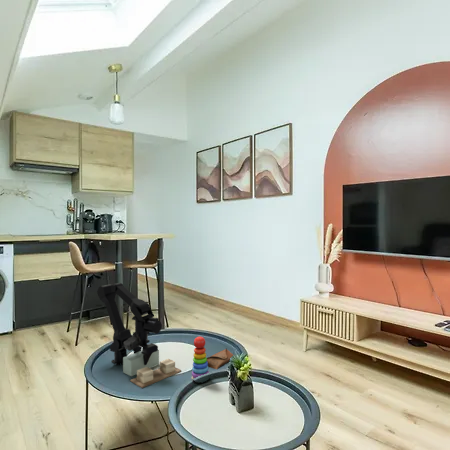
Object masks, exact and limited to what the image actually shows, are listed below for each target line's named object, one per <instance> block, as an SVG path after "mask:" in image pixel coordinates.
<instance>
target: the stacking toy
mask: <svg viewBox="0 0 450 450" xmlns="http://www.w3.org/2000/svg"><path fill="white" fill-rule="evenodd" d="M193 345H194V347H195V348H194V349H193V351H194V353H193V359H192V360H193V362H192V371H191V380H192V379H194V378H196V377H198V376H201V375H204V374H207V373H209V374H210V371H209V367H208V366H207V365H208V362H207V358H208V357H207V353H206V350H207V349H206V348H205V346H206V339H205V338H204V337H203V336H197V337H195V338H194V340H193Z"/></svg>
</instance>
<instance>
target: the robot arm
mask: <svg viewBox="0 0 450 450" xmlns="http://www.w3.org/2000/svg"><path fill="white" fill-rule="evenodd" d="M96 293H97V296H98V298H99V300H100V301H101V302H102V303H103V304H104V305H105V308H106V311H107V314H108V318H109V320H110V322H111V326H112V329H113V336H112V340H113V342H112V343H111V344H110V346H109V350H110V352H113V354H114V355H113V356H114V357H113V358H114V359H112V360H111V363H113V364H115V365H117V366H119V365H120V366H121V365H123V357H126V356H128V354H127V350H128V352H131V351H132V352H133V354H134V353H137V352H139V351H143V352H141V353H142V354H143V359H144V365H147V363H148V361H149V358H150V356H151V355H152V353H153V352H156V351H158V350H159V346H158V345H157V344H155V343H153V342H152V343H150V342H151V341H150V339H148V336H149V334H150V333H152V334H156V335H157V334H159V333H160V332H161V330H162V326H163V325H162V322H161V321H160V319H159V317H155V315H154V312H153V311H152V309H151V307H150V304H149V303H148V302H147V301H145V300H143V299H139V298H138V297H136V296H135V295H134V294H133V293H132V292H131V291H130V290H128V289H127V288H126V286H124V285H123V283H121V282H118V283H113V284H111V283H109V284H106V285H100V286H99V287H98V288H97V291H96ZM117 296H118V297H119V298H120V299H121V300H123V302H125V303H126V305H127V306H129V310H130V312H131V313H132V314H133V315H134V316H133V317H131V320H132V321H134V323H135V324H134V331H133V333H132V332H131V329H130V328H126V327H125V325H124V322H123V320H122V317H121V314H120V311H119V308H118V305H117V302H116V297H117Z"/></svg>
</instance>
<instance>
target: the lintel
mask: <svg viewBox="0 0 450 450" xmlns="http://www.w3.org/2000/svg"><path fill="white" fill-rule="evenodd" d="M141 352H143V351H142V350H141V351H139V352H137V353H134V352H133V353H132V354H129V355H127V356H126V357H123V364H122V370H123V371H122V373H123V374H125V375H128V376H129V377H133V376H136V375H137V370H140V369H142V368H145V367H148V368H150V369H152V368H153V367H156V366H158V365H160V349H158V351H156V352H153V353H152V355H151V356H150V358H149V361H148V363H147V365H144V359H143V354H142V353H141Z"/></svg>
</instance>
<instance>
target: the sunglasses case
mask: <svg viewBox="0 0 450 450" xmlns="http://www.w3.org/2000/svg"><path fill="white" fill-rule="evenodd" d="M233 355H234V354H233V352H231V351H230V350H229V349H228V348H225V349H223V350H221V351H219V352H216V353H214V354H212V355H210V356H208V357H206V358H207V362H208V365H207V366H208V368H210V369H213V370H218V369H220V368H221V367H223V366H225V365H226V364H228V363H230V362H229V360H230V358H231V357H232V356H233Z"/></svg>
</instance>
